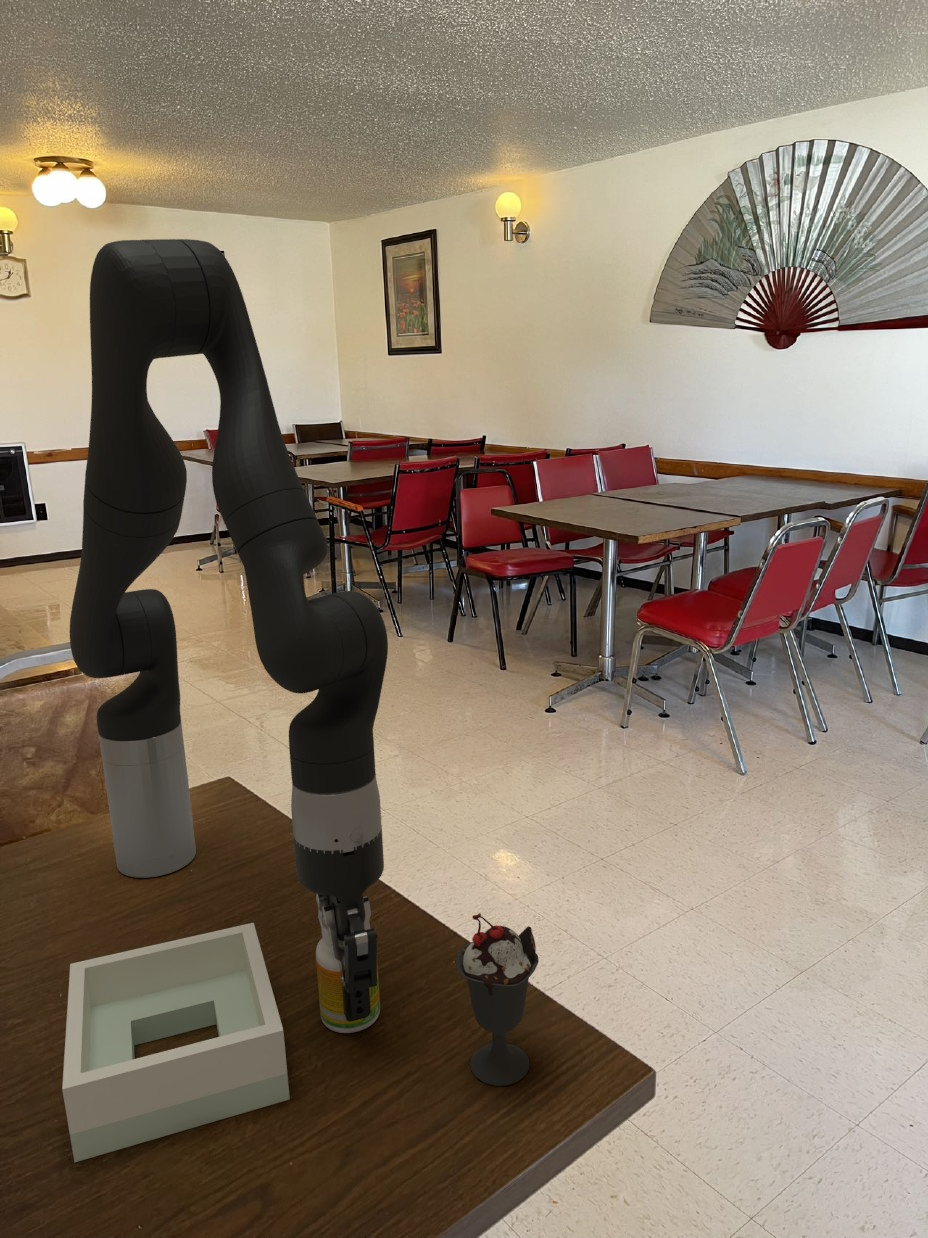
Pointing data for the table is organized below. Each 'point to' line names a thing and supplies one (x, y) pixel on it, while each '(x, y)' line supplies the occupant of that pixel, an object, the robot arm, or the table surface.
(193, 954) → the bore box
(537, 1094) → the table surface
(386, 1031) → the table surface
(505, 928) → the sundae
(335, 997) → the supplement bottle
